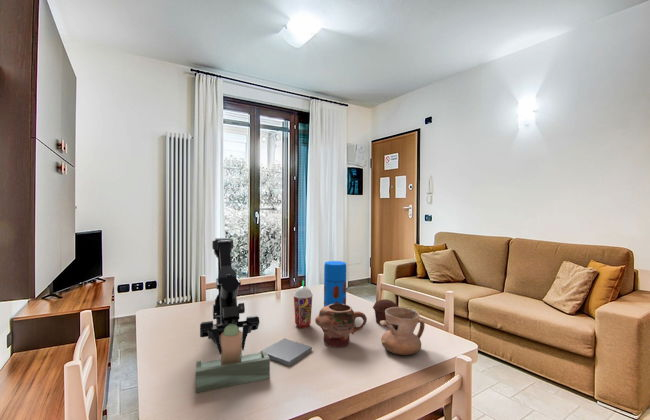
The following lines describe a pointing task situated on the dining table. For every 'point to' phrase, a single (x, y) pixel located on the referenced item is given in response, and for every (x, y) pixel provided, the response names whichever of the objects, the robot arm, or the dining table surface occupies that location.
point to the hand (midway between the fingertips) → (231, 351)
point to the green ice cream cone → (231, 345)
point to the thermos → (334, 282)
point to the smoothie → (303, 306)
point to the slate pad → (287, 351)
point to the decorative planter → (338, 323)
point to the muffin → (382, 309)
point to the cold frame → (232, 372)
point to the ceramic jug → (402, 331)
